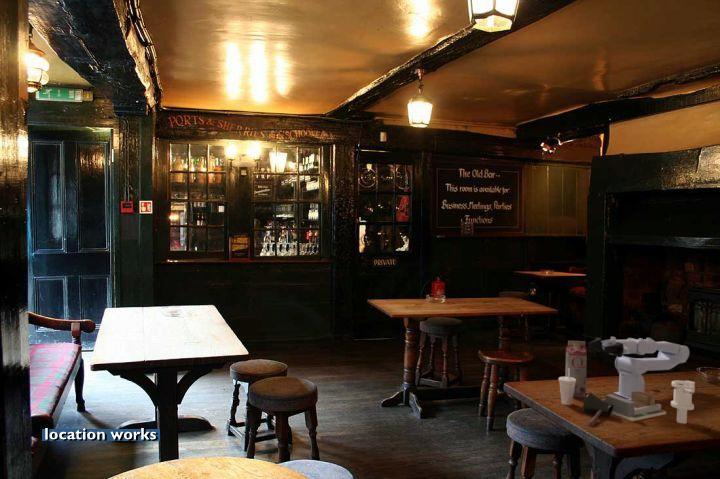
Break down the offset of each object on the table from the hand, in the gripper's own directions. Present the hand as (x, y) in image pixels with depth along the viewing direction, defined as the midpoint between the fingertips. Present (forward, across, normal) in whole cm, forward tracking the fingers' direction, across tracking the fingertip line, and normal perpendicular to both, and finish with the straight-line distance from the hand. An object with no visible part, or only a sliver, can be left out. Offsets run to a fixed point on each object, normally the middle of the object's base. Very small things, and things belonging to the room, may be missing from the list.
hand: (596, 347), depth 213 cm
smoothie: (+10, -3, +23) cm, 25 cm away
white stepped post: (-12, +28, +21) cm, 37 cm away
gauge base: (-6, +14, +21) cm, 26 cm away
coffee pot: (+14, +12, +23) cm, 29 cm away
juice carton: (-2, -10, +22) cm, 24 cm away
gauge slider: (-10, +16, +20) cm, 27 cm away
